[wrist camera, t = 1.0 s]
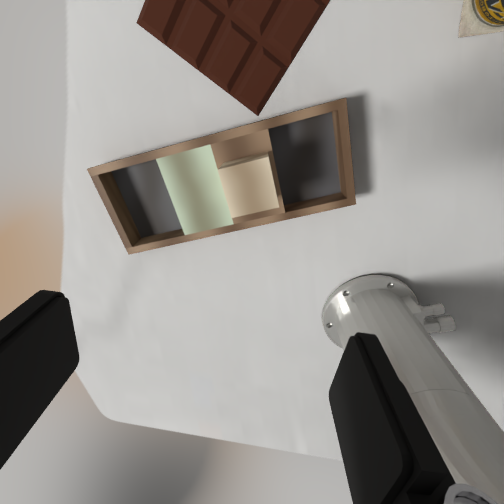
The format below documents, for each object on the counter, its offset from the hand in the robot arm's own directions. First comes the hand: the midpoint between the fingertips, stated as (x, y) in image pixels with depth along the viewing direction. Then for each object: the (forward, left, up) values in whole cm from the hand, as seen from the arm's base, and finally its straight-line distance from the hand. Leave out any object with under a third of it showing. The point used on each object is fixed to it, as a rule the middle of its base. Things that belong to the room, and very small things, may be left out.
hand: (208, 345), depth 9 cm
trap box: (+2, -1, -25) cm, 25 cm away
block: (-1, -1, -22) cm, 22 cm away
